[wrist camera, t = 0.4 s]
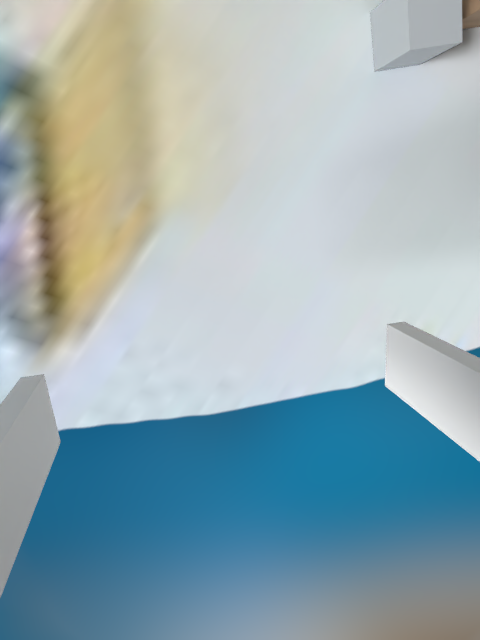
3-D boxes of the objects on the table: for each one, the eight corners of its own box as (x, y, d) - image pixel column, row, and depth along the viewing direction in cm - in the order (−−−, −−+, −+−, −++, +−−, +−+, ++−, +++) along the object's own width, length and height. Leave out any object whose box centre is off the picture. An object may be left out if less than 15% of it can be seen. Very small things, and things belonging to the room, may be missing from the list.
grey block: (369, 12, 39) (406, -21, 33) (417, 6, 39) (461, -28, 34) (373, 71, 40) (409, 50, 34) (419, 64, 41) (462, 42, 35)
